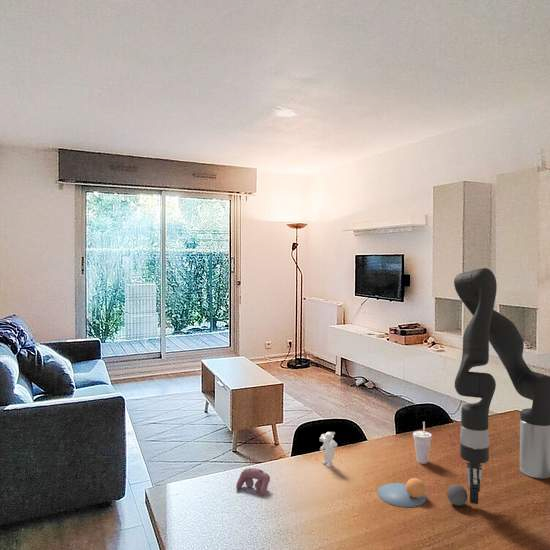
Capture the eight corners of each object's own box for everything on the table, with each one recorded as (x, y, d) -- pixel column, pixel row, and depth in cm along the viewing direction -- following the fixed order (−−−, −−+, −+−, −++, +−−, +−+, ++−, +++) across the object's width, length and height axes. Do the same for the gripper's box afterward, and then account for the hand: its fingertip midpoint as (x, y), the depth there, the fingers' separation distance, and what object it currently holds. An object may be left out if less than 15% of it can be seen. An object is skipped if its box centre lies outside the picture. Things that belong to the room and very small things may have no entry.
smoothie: (432, 466, 157) (433, 425, 157) (413, 464, 159) (413, 424, 158) (430, 458, 164) (430, 419, 163) (411, 456, 165) (411, 418, 165)
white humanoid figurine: (339, 468, 156) (339, 433, 156) (329, 470, 154) (329, 435, 154) (326, 458, 164) (326, 424, 164) (316, 460, 163) (316, 426, 162)
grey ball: (458, 479, 136) (450, 495, 137) (448, 480, 132) (440, 496, 133) (474, 493, 132) (465, 509, 132) (464, 494, 128) (455, 510, 129)
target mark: (411, 481, 146) (411, 481, 146) (435, 504, 133) (435, 503, 133) (370, 486, 143) (370, 485, 143) (390, 509, 130) (390, 509, 130)
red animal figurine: (268, 496, 141) (273, 471, 143) (263, 495, 137) (267, 470, 140) (240, 489, 145) (244, 466, 147) (234, 489, 141) (238, 465, 144)
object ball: (422, 476, 139) (407, 484, 141) (415, 473, 136) (399, 481, 137) (431, 494, 136) (415, 502, 137) (424, 492, 132) (407, 500, 134)
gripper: (459, 432, 138) (459, 489, 138) (460, 449, 125) (460, 511, 126) (487, 435, 135) (486, 493, 136) (490, 453, 123) (490, 517, 123)
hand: (473, 502), depth 131 cm, fingers closed
